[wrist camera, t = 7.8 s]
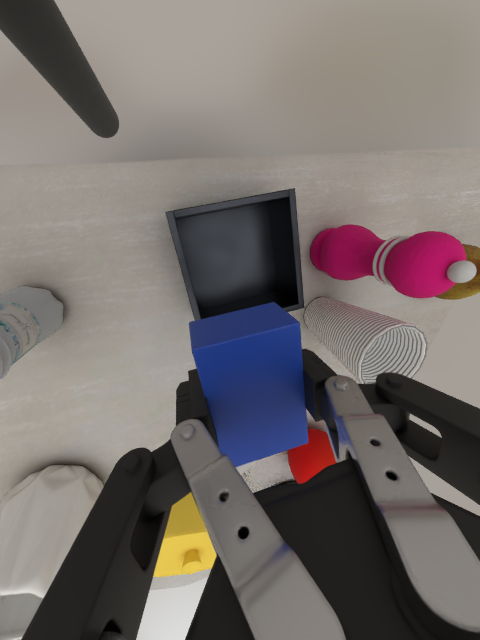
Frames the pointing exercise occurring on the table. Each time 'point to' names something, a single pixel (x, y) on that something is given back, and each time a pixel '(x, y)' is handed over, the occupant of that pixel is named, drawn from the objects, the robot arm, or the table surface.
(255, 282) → the black open box
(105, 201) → the table surface
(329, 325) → the cup
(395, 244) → the pepper mill
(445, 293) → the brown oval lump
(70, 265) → the table surface
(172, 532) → the teapot
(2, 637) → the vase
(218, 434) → the blue rectangular block
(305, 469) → the tomato
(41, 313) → the bottle
